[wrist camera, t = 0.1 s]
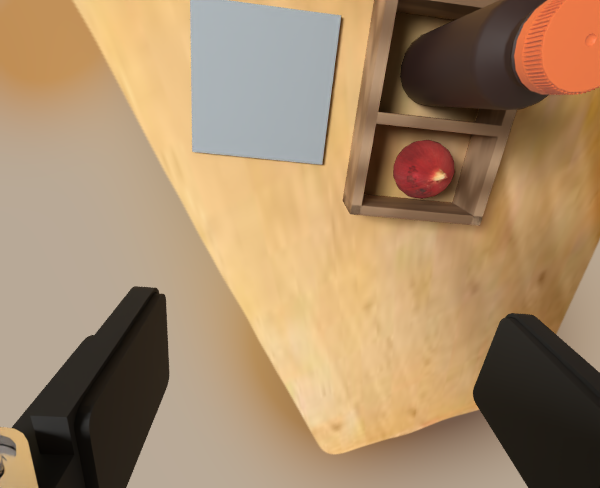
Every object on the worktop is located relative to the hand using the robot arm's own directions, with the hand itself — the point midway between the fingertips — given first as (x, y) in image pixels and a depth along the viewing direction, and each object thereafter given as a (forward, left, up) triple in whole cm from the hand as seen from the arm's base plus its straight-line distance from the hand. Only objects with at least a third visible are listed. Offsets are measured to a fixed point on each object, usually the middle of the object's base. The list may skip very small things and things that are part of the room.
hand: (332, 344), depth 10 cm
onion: (-1, +13, -31) cm, 34 cm away
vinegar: (-10, +13, -31) cm, 35 cm away
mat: (-7, -4, -31) cm, 32 cm away
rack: (-6, +13, -31) cm, 34 cm away
